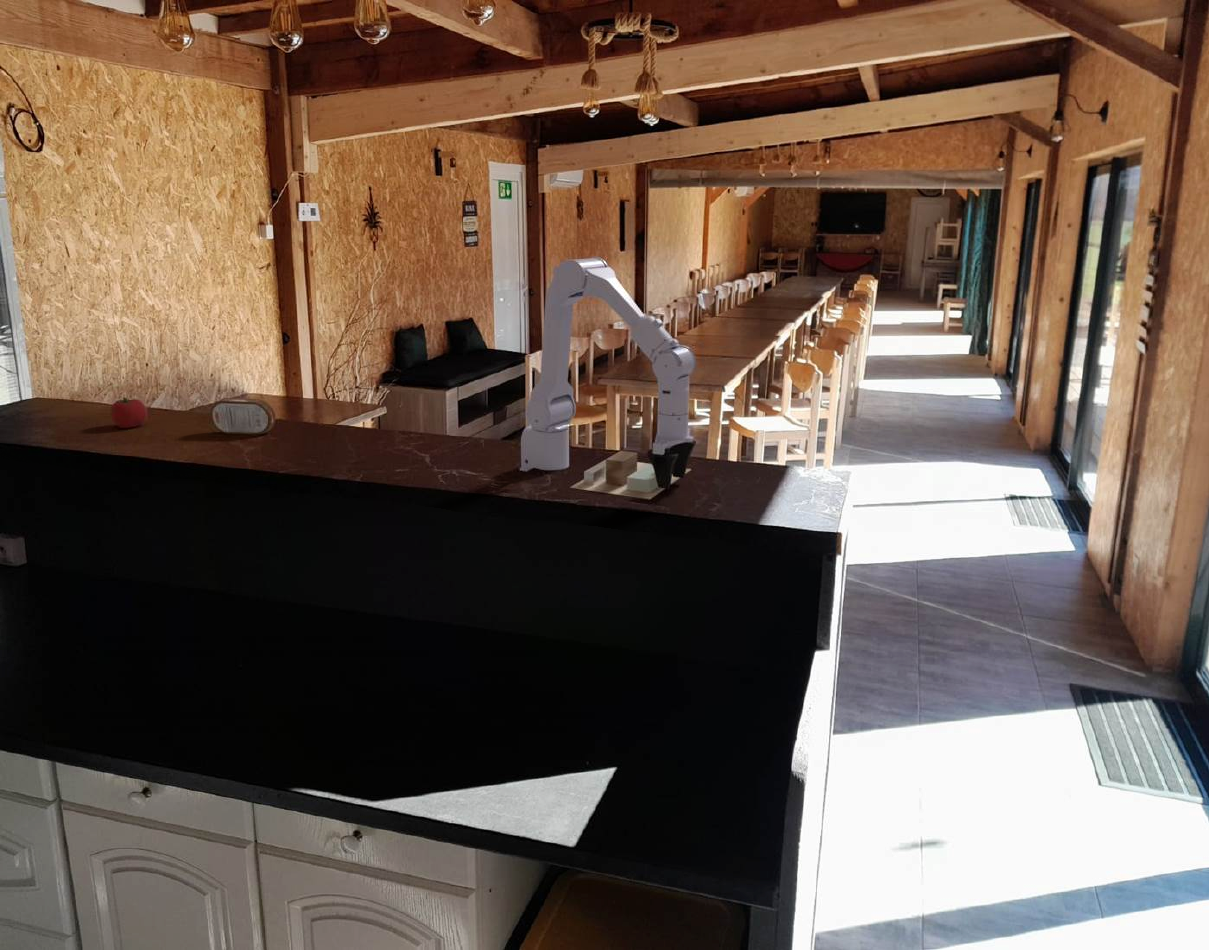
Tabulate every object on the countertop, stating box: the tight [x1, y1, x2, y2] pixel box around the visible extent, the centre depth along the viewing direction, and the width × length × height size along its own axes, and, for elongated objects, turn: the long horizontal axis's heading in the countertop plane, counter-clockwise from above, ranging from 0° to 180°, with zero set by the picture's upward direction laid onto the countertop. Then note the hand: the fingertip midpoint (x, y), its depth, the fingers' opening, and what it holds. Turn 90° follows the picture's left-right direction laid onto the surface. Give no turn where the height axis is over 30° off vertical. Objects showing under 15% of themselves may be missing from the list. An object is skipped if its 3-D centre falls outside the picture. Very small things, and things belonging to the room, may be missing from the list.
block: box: [605, 450, 638, 487], centre depth 183 cm, size 4×7×5 cm, turn 155°
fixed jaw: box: [583, 459, 606, 486], centre depth 185 cm, size 2×10×2 cm, turn 155°
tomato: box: [110, 397, 149, 429], centre depth 228 cm, size 8×8×7 cm
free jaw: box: [627, 463, 658, 493], centre depth 180 cm, size 5×10×2 cm, turn 155°
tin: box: [210, 397, 276, 436], centre depth 221 cm, size 15×3×8 cm, turn 84°
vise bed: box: [569, 461, 692, 502], centre depth 185 cm, size 16×22×1 cm
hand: (671, 482), depth 179 cm, fingers open, 7 cm apart
